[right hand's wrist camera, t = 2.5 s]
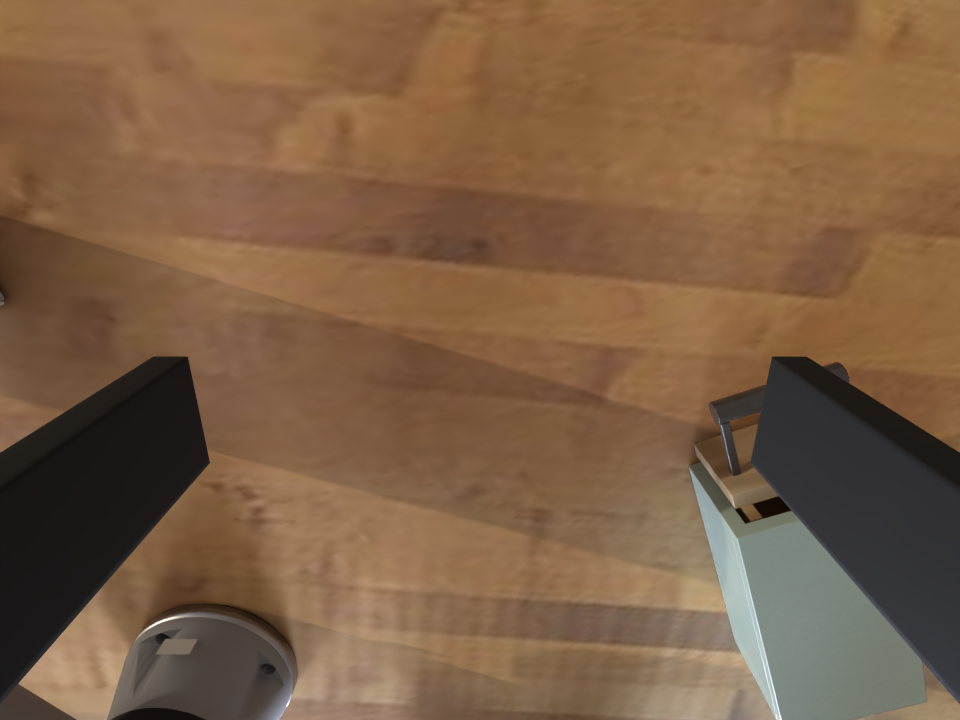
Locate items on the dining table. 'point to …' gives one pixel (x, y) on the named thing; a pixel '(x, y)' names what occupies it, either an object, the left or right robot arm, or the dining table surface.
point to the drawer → (743, 454)
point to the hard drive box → (1, 299)
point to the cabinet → (804, 618)
